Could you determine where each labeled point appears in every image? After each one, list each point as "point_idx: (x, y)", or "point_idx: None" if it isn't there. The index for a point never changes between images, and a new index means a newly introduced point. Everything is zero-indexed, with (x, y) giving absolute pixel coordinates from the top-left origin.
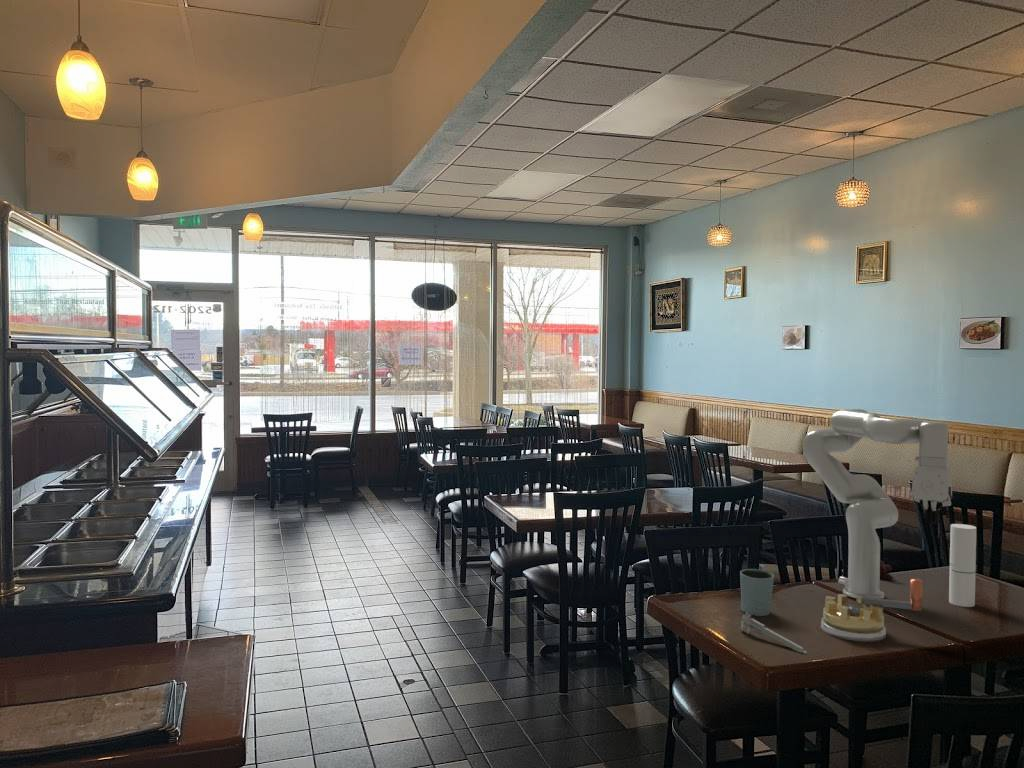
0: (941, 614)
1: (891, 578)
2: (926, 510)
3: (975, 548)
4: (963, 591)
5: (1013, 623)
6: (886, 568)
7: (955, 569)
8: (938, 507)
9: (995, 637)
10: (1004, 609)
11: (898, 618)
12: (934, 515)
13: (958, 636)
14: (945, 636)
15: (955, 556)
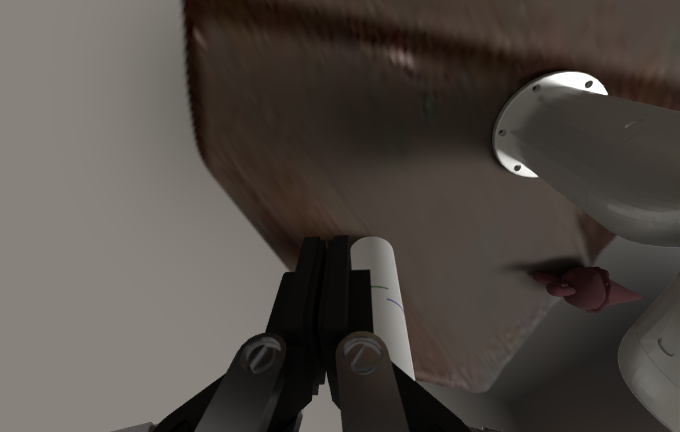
0: (351, 159)
1: (535, 274)
2: (344, 319)
3: None
4: (358, 259)
5: (256, 226)
6: (557, 284)
7: (377, 290)
8: (211, 393)
9: (204, 117)
10: None
11: (388, 24)
12: (282, 303)
13: (231, 39)
14: (241, 3)
15: (380, 317)
